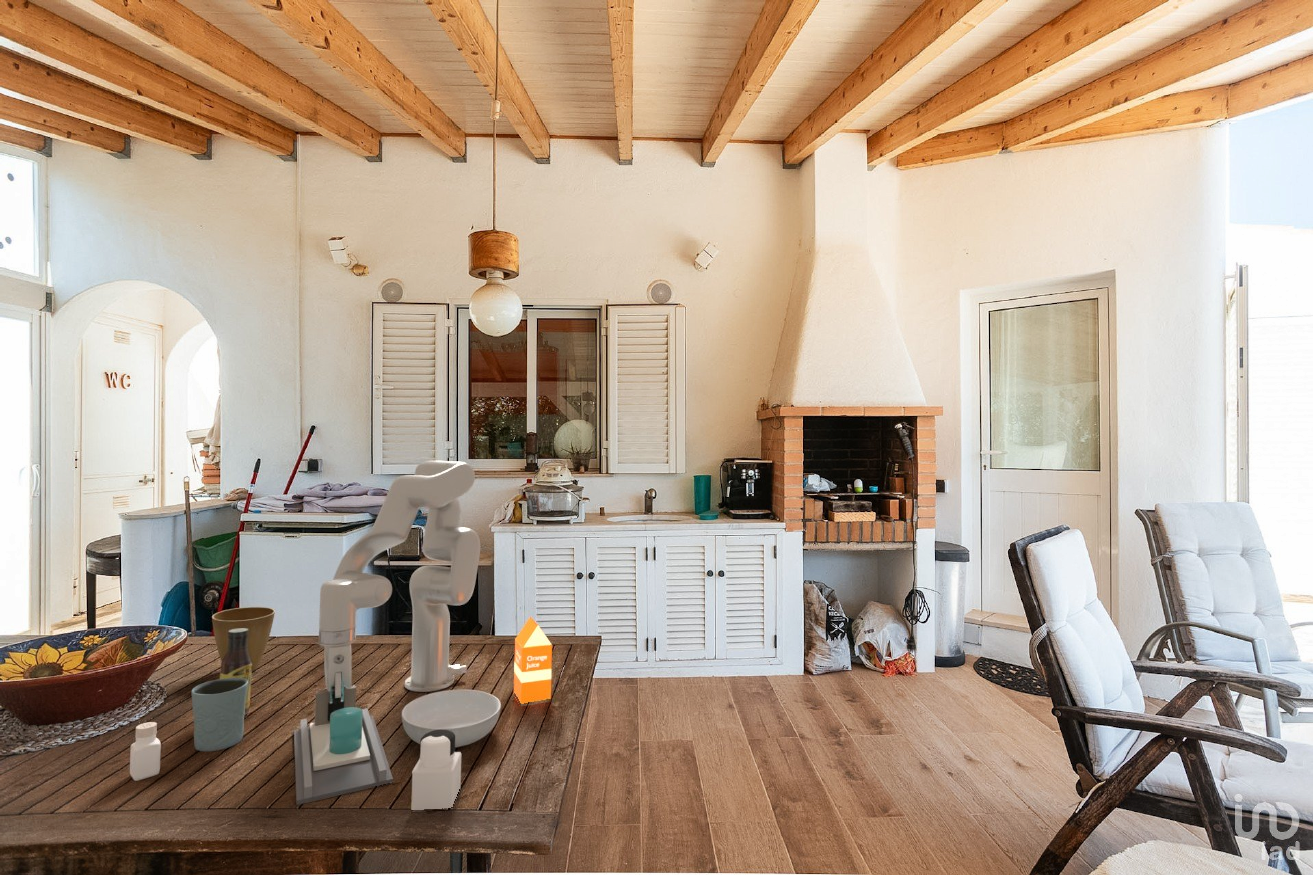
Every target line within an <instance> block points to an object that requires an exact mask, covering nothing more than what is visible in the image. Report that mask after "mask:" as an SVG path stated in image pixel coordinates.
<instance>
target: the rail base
mask: <svg viewBox="0 0 1313 875" xmlns="http://www.w3.org/2000/svg"><path fill="white" fill-rule="evenodd" d="M361 709H362V710H363V714H362V727H363V731H364V735H365V738H366V742H367V746H368V749H369V753H370V759H369V760H365V761H360V762H355V763H350V764H346V765H341V766H336V767H331V768H326V769H322V770H317V771H314V770H313V759H312V748H311V736H310V726H309V727H308V718H304V719H300V727H299V728H297V729H293V730H294V731H293V743H294V744H293V746H294V770H295V777H294V778H295V797H296V798H295V801H296V802H295V803H296V806H299V805H303V804H307V803H312V802H315V801H321V800H325V799H328V798H329V799H330V798H333V797H337V796H343V795H347V794H350V793H351V794H352V793H354V792H359V791H363V790H368V788H369V789H373V788H376V787H375V786H377V787H381V786H380V785H382V786H384V785H383V784H386V785H388V784H387V783H390V782H393V783H394V778H393V775H392V772H391V768H390V764H389V761H388V759H387V755H386V753H385V750H384V746H383V744H382V740H381V736H380V734H379V730H378V728H377V725H376V722H375V721H376V720H375V718H374V716H373V715H370V712H369V708H367V707H366V708H361ZM390 784H391V783H390ZM372 787H373V788H372Z"/></svg>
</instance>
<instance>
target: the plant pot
mask: <svg viewBox="0 0 1313 875" xmlns="http://www.w3.org/2000/svg"><path fill="white" fill-rule="evenodd" d="M275 615H276V609H274V608H271V607H267V606H266V607H263V606H247V607H246V606H245V607H238V608H237V607H236V608H230V609H225V610H222V611H219V612H216V613H214V614H212V616H211V622H212V630H213V636H214V641H215V645H216V650H217V652H218V655H219V659H220V661H221V662H222V659H223V658H224V656H225V655H226V653H227V652H228V643H229V638H228V631H229V630H232V629H238V628H247V629H248V630H249V631H248V633H249V634H248V636H247V649H248V653H249V656H250V660H251V662H252V672H254V671H256V670H257V669H258V667H259V665H260V662H261V660H262V658H263V656H264V652H265V650H266V648H267V644H268V641H269V639H270V635H271V632H272V628H273V624H274V623H273V622H274V619H275Z"/></svg>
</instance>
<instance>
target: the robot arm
mask: <svg viewBox="0 0 1313 875" xmlns="http://www.w3.org/2000/svg"><path fill="white" fill-rule="evenodd" d="M475 474H476V473H475V470H474V468H473V467H472V466H471V464H469V463H468V462H465V461H451V460H450V461H449V460H425V461H423V462H420V463H419V464H418V465H417V466H416V468H415V470H414V474H405V475H400V476H399V477H397V478H395V479H394V480H393V482H392V483H391V485H390V487H389V490H388V492H387V493H386V495H385V499H384V501H383V503H382V506H381V508H380V510H379V513H378V514H377V516H376V519H375V521H374V524H373V525H372V528H371V529H370V530H368V531H367V532H366V533H365V534H364V535H362V536H361V537H360V538H359V539H358V540H357V541H356V542H355V543H354V544H353V545H351V547H350V548H349V549H348V550H347V551H346V552H345V554H344V555H343V557H342V558H341V560H340V561H339V565H338V567H337V568H336V571H335V573H334V576H333V579H332V580H327V581H325V582H323V583H322V584H321V586H320V593H319V594H320V595H319V617H318V618H319V619H318V620H319V624H318V627H319V628H318V646H321V647H324V650H323V651H324V653H323V654H324V655H323V656H324V657H323V658H324V661H323V662H324V664H323V668H324V681H325V686H326V689H327V690H328V691H329V692H330V703H328V721H330V715H331V713H332V712H334V711H336V710H339V709H342V708H344V700H343V699H344V687H346V688H348V689H350V688H351V685H352V644H353V643H355V642H356V639H357V610H358V611H359V610H361V609H371V608H373V609H374V608H377V607H380V606H382V605H384V604H385V603H387V601H389V599H390V598H391V596H392V594H393V586H392V583H391V581H390V580H389V579H388V578H387V577H385V576H383V575H378V574H373V573H367V572H364V571H365V569H366V568H367V566H368V564H369V563H370V562H371V561H372V560H373V559H374V558H375V557H376V556H378V555H379V554H381V553H383V552H385V551H387V550H389V549H391V548H394V547H396V546H398V545H400V544H402V543H404V542H405V541H406V540H407V539H408V537H409V534H410V532H411V531H412V530H411V529H412V527H413V525H414V522H415V520H416V518H417V515H418V513H419V510H427V518H426V524H425V528H424V529H425V531H424V535H423V540H422V553H423V555H424V556H425V557H426V559H429V560H432V561H437V562H438V561H439V562H445V563H447V562H448V563H451V565H450V567H448V566H444V565H443V566H442V565H423V566H420V567H419V568H417V569H416V570H414V572H412V574H411V577H410V579H409V595H410V599H411V606H412V607H411V608H412V627H411V628H412V630H411V631H412V632H411V636H412V637H411V662H410V663H411V664H410V676H409V677H407V678H406V679H405V680H404V687H405V689H407V690H409V691H412V692H416V693H417V692H419V693H424V692H425V693H427V692H437V691H440V690H441V691H442V690H444V689H446V688H448V687H450V686H451V685H453V684H454V682H455V675H457V674H459V675H460V674H466V673H467V670H468V669H467V665H461V666H460V664H453V665H451V664H450V662H449V661H450V632H451V631H450V627H451V626H450V625H451V618H450V617H451V615H450V611H449V607H448V605H449V606H461V605H465V604H467V603H468V602H469V600H470V599H471V597H472V596H473V594H474V589H475V585H476V580H477V574H478V567H479V560H480V557H481V556H480V555H481V541H480V540H481V539H480V536H479V535H478V533H477V531H475V530H474V529H472V528H469V527H464V526H463V527H462V526H460V520H461V519H460V518H461V504H460V501H459V500H460V499H459V498H460V497H461V496H464V495H465V494H467V493H468V492H469V491H470V490H471V488H472V487H473V485H474V483H475V479H476V476H475ZM333 692H335V693H334V694H333Z"/></svg>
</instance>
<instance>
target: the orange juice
mask: <svg viewBox="0 0 1313 875" xmlns="http://www.w3.org/2000/svg"><path fill="white" fill-rule="evenodd" d="M552 654H553V644H552V643H551V641H550V640H549V639H548V637H547V636H546V634H545V633H544V631H543V629H542V628H541V627H540V625H539V624H538V623H537V622H536V621H535V620H534V619H533V618H532V617H531V616H529V618H528V619H527V621H526V622H525V624H524V625H523V627H522V628H521V630H520V631H519V633H518V635H517V636H516V637H515V638H514V668H513V670H514V671H513V672H514V674H513V677H514V678H513V694H514V693H515V694H516V696H517V697H518V699H519V701H520V703H521V704H524V703H528V702H534V701H541V700H546V699H551V698H552V697H551V696H552V663H553V662H552Z"/></svg>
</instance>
